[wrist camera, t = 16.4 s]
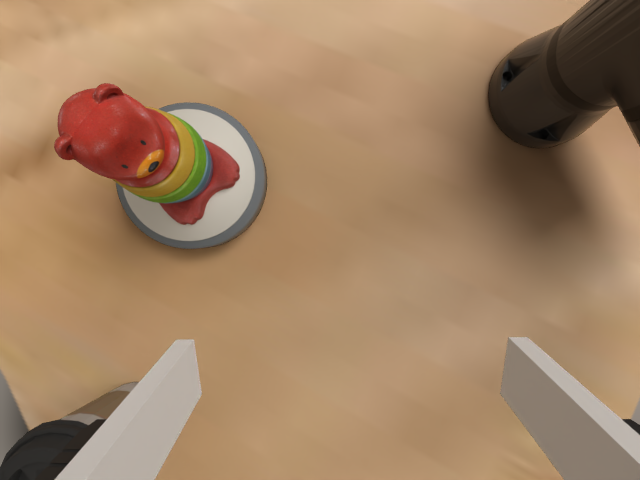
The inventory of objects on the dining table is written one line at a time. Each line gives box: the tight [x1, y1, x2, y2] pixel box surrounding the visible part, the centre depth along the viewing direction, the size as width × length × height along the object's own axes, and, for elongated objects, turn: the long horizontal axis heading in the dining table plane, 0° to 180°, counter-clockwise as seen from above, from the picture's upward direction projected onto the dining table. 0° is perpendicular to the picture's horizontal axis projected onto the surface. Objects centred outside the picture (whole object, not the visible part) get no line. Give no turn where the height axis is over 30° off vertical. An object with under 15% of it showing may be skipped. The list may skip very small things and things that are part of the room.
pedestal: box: [116, 103, 267, 249], centre depth 41 cm, size 19×19×4 cm
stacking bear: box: [54, 83, 240, 225], centre depth 30 cm, size 11×10×18 cm
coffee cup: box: [0, 382, 139, 480], centre depth 35 cm, size 11×11×15 cm
